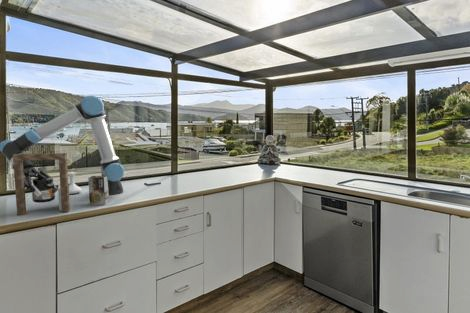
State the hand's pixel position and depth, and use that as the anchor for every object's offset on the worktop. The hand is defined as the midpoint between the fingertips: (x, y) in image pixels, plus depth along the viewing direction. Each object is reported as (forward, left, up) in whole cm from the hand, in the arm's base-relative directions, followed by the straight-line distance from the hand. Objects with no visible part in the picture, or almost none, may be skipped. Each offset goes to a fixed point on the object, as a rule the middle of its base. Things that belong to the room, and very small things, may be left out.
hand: (48, 193), depth 164 cm
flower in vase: (0, -41, -9) cm, 42 cm away
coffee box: (-24, -7, -9) cm, 27 cm away
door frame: (0, +7, -9) cm, 12 cm away
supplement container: (+3, -1, -4) cm, 5 cm away
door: (-7, -1, -8) cm, 11 cm away
